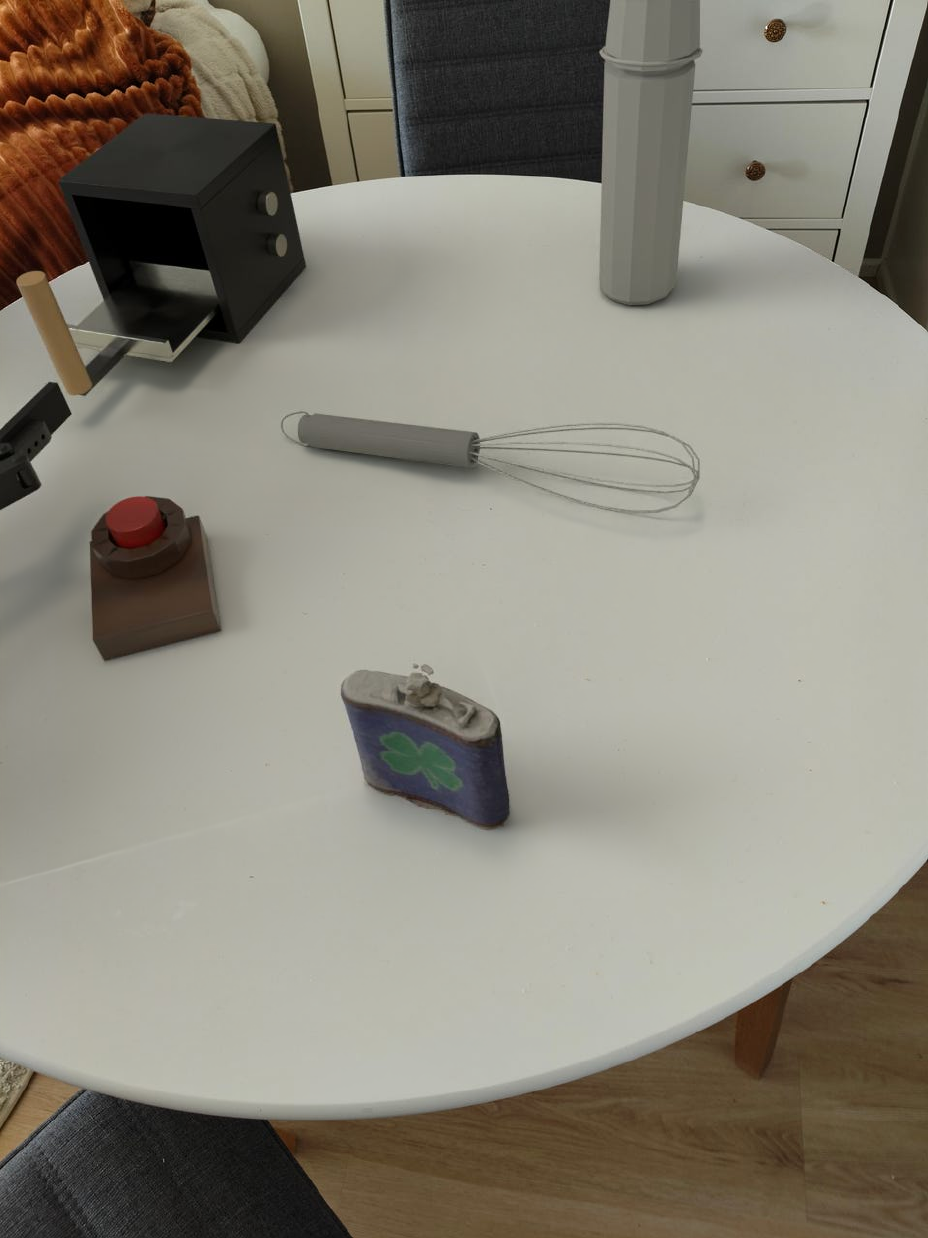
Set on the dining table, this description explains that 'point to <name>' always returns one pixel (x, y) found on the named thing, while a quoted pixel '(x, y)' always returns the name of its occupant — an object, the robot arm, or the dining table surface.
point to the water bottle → (645, 144)
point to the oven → (192, 211)
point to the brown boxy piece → (152, 587)
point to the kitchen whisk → (456, 446)
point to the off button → (135, 522)
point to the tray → (124, 319)
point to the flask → (428, 745)
